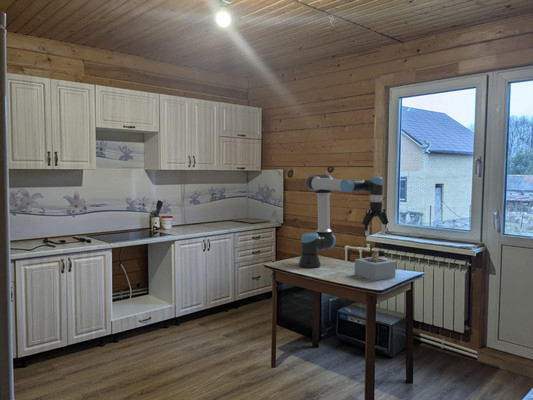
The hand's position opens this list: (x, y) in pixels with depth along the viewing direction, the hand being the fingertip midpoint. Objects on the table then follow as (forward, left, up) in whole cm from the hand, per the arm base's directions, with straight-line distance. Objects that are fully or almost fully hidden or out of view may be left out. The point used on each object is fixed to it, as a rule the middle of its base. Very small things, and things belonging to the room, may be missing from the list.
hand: (375, 235), depth 266 cm
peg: (-2, +3, -20) cm, 20 cm away
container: (-14, +19, -27) cm, 36 cm away
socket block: (-2, +3, -27) cm, 27 cm away
